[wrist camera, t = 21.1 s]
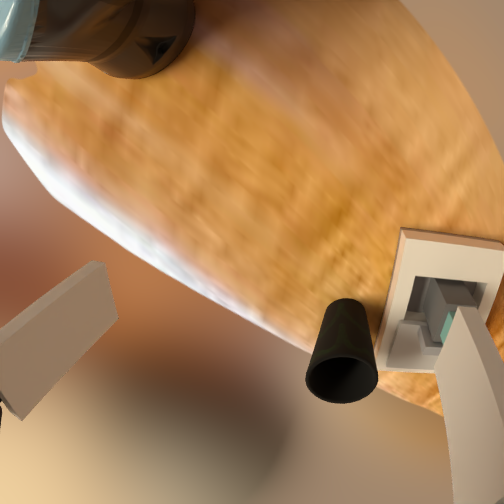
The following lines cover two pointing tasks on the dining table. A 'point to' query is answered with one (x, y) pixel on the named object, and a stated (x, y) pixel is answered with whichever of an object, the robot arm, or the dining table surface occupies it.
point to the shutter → (413, 347)
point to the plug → (444, 305)
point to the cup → (343, 355)
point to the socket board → (437, 266)
